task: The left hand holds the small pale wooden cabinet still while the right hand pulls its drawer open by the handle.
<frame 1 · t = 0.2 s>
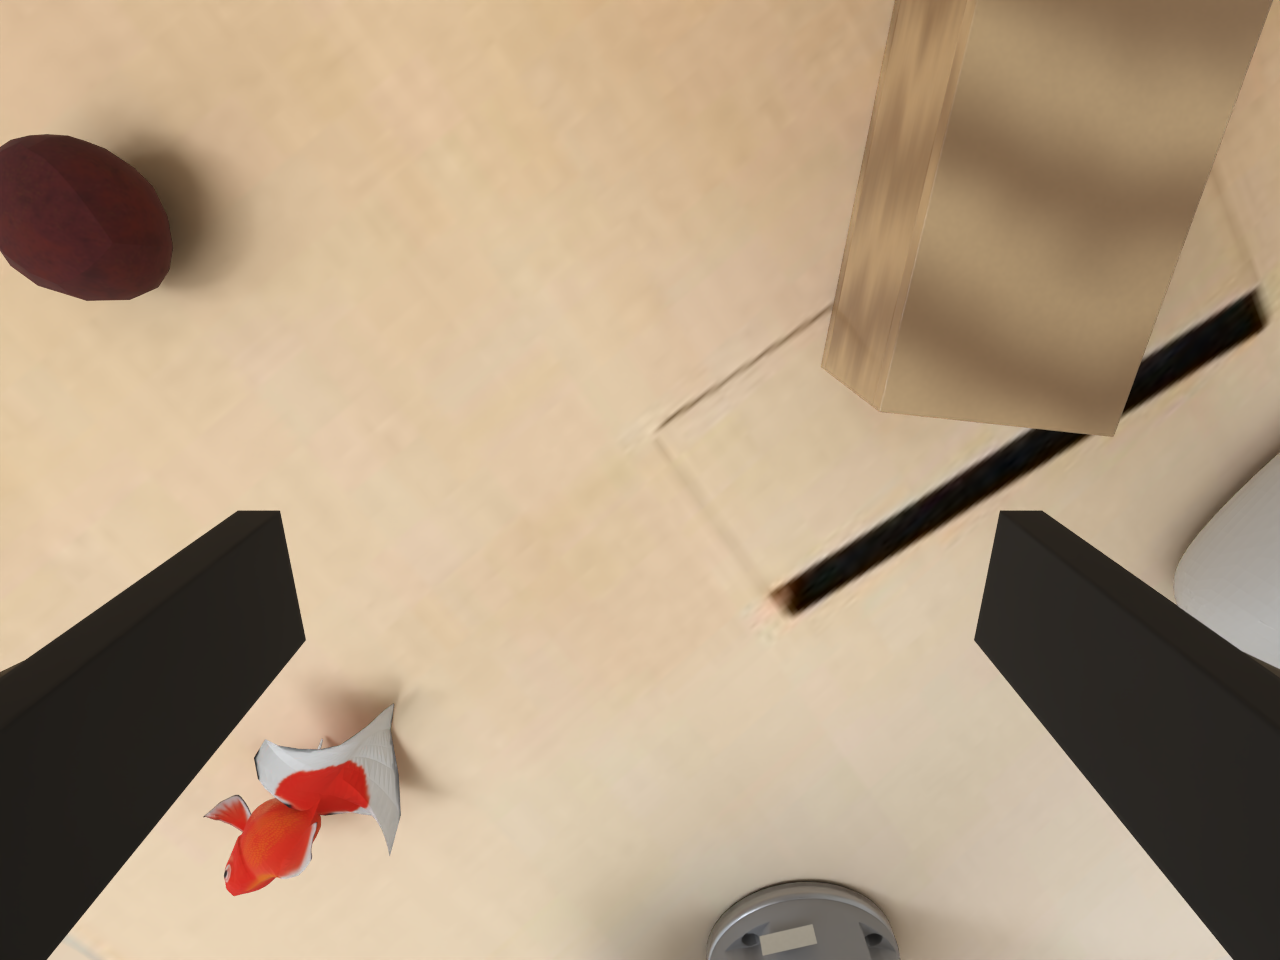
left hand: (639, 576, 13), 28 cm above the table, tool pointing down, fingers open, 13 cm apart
cabinet: (957, 189, 36), on the table
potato: (135, 224, 37), on the table
fish: (335, 752, 49), on the table
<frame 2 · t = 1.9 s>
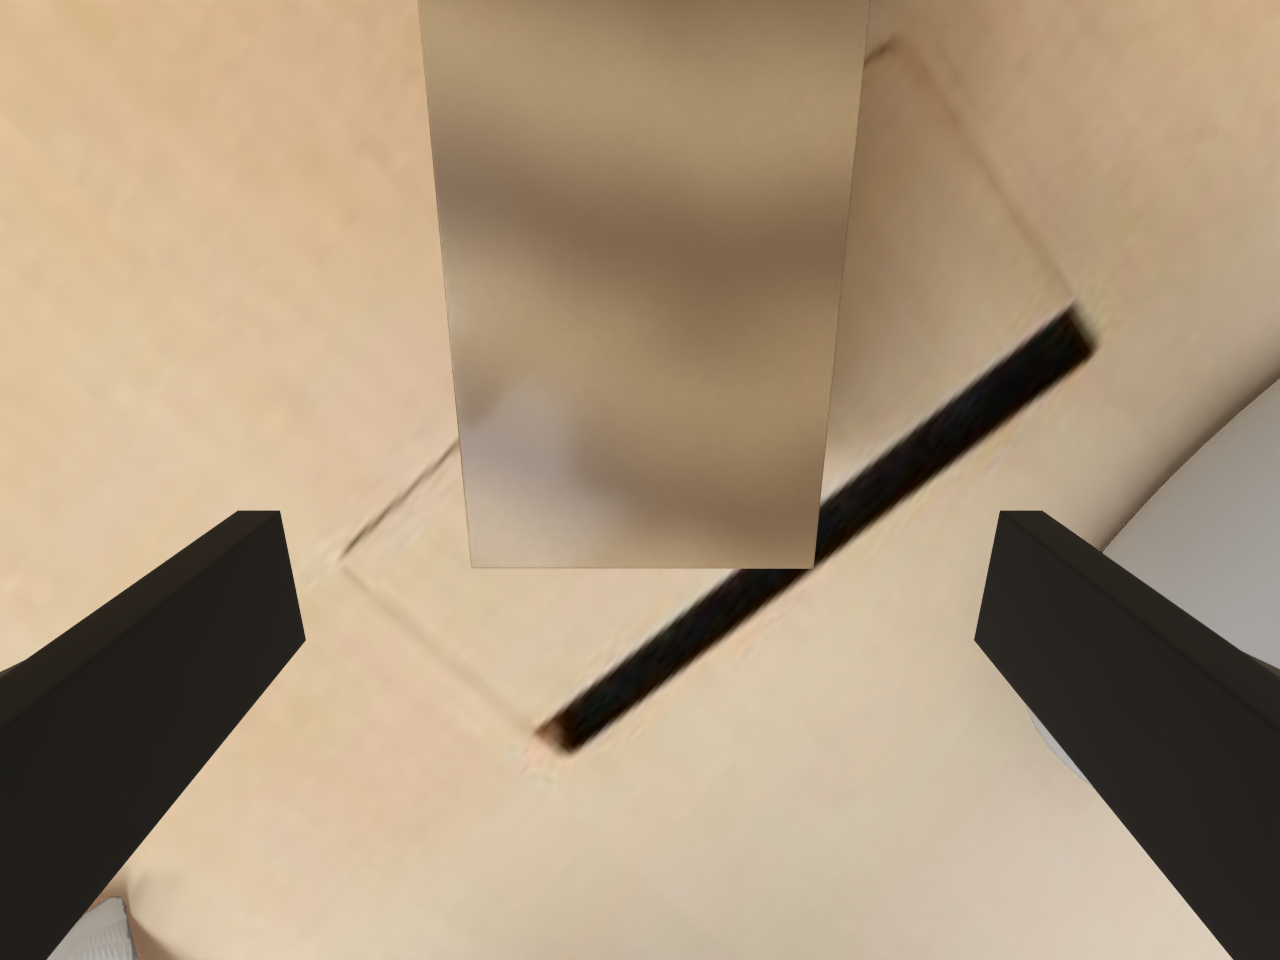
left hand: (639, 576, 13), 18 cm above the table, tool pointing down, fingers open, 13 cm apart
cabinet: (642, 223, 27), on the table
projector: (1234, 548, 32), on the table
fish: (74, 947, 41), on the table
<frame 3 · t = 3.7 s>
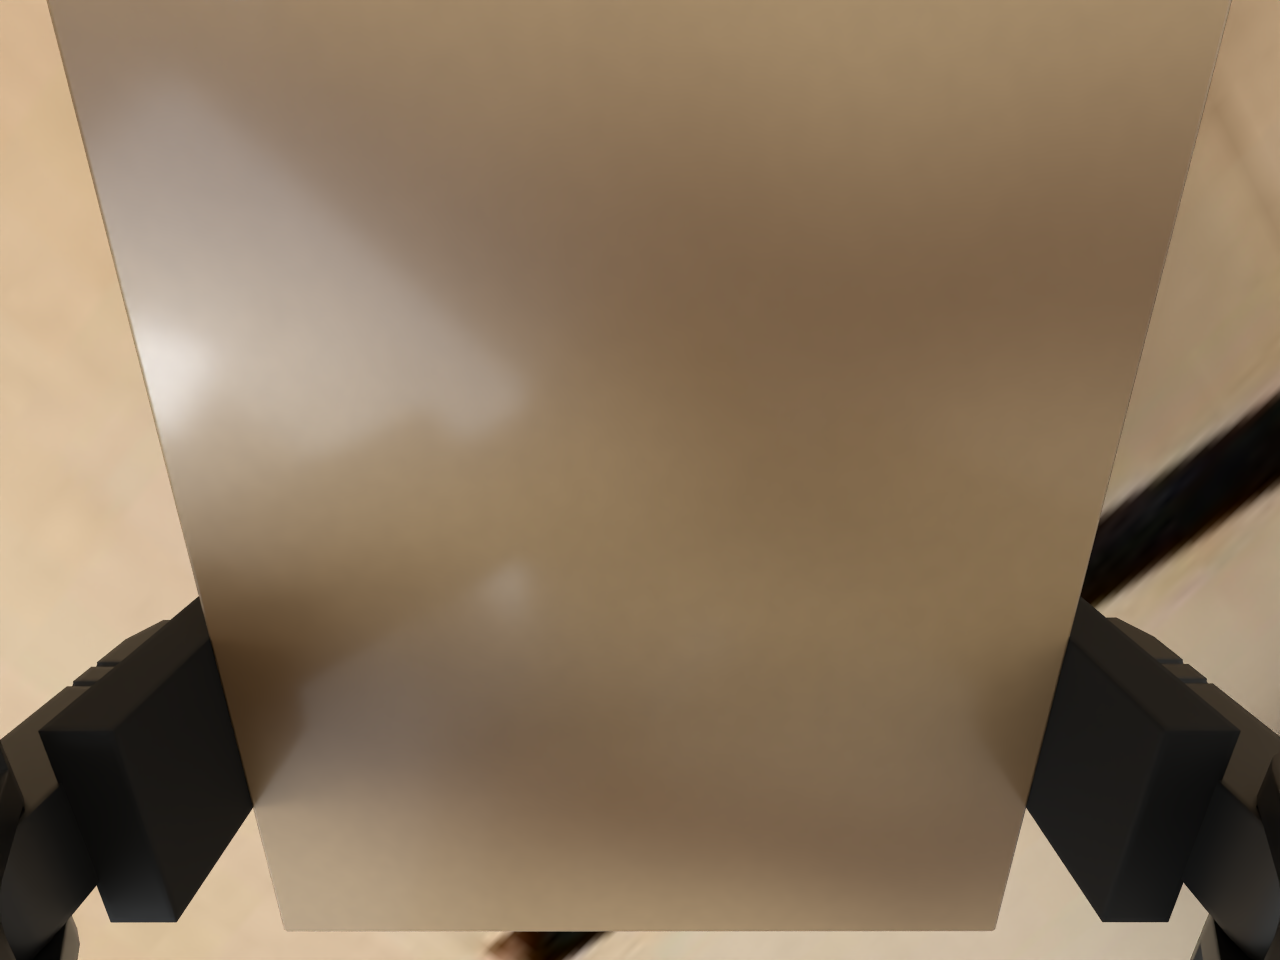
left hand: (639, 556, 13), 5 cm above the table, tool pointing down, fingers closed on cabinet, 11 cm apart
cabinet: (639, 216, 16), on the table, touching left hand
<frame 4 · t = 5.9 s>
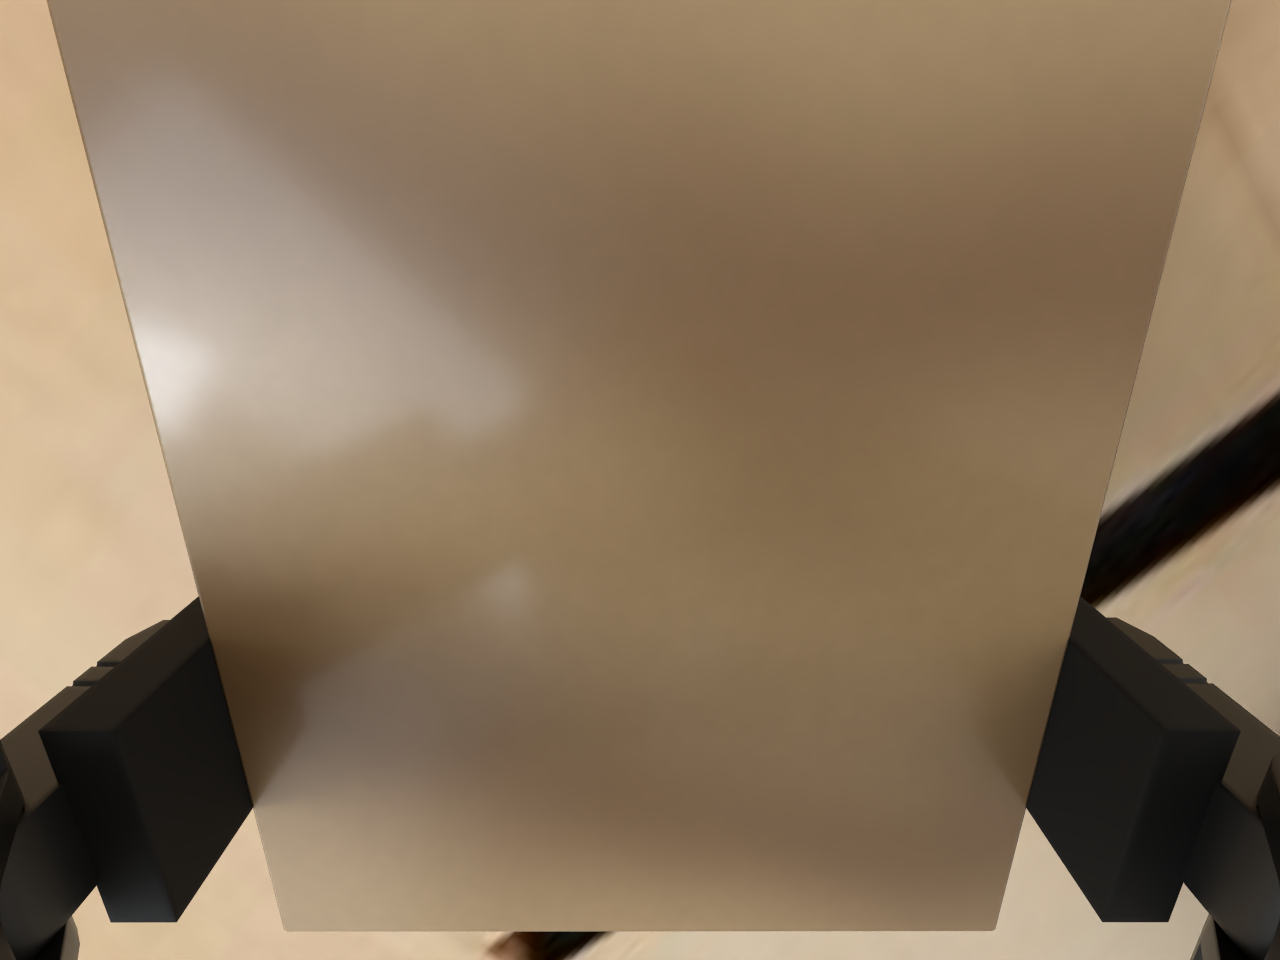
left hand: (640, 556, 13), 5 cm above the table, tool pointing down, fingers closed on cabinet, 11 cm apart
cabinet: (639, 216, 16), on the table, touching left hand
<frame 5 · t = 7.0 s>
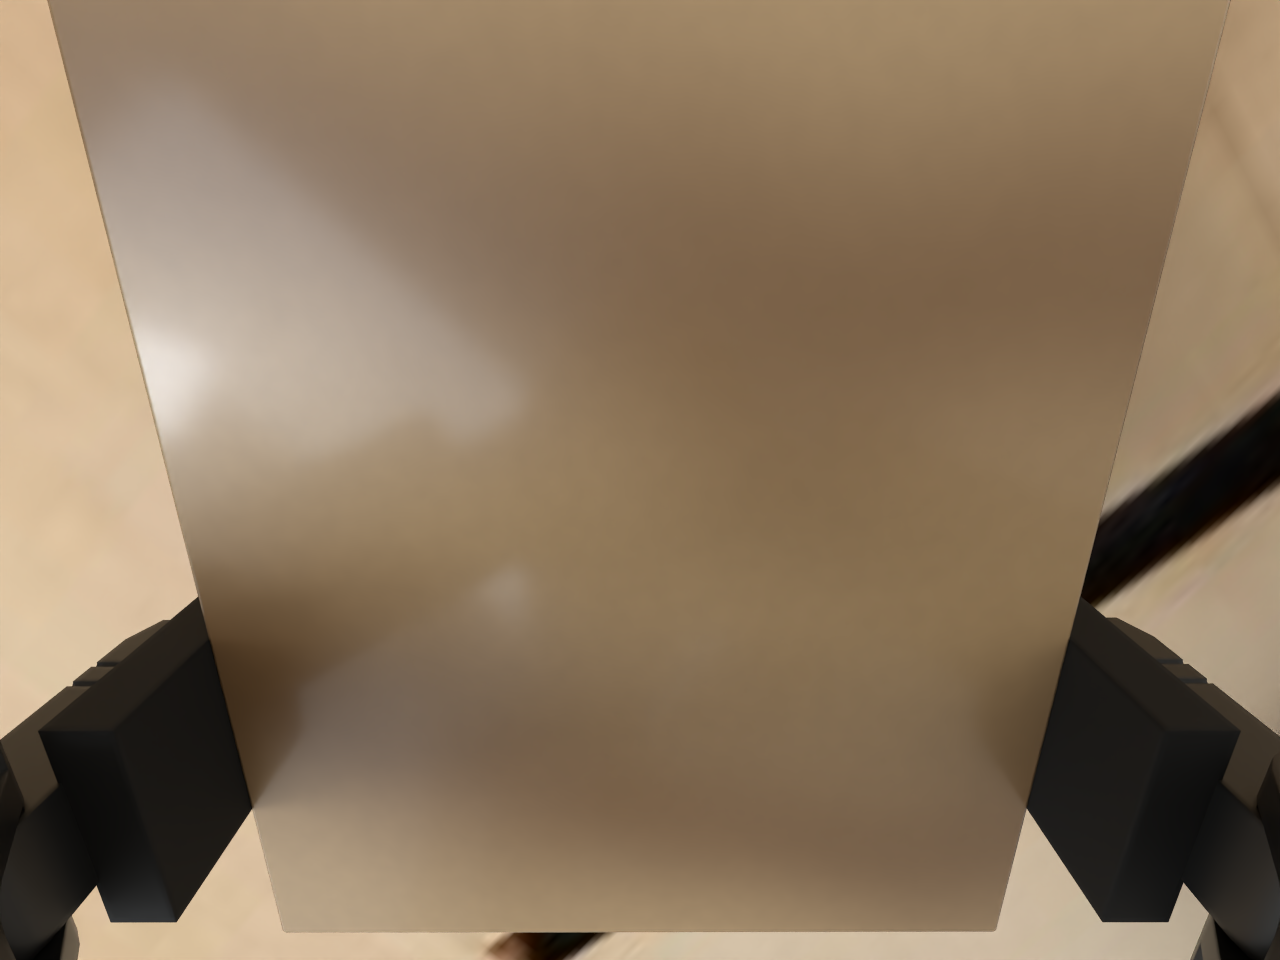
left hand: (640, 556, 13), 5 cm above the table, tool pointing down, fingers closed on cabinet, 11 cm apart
cabinet: (639, 217, 16), on the table, touching left hand
when the left hand's fingers open (5 cm above the table, at t = 8.9 s): cabinet stays where it is, on the table.
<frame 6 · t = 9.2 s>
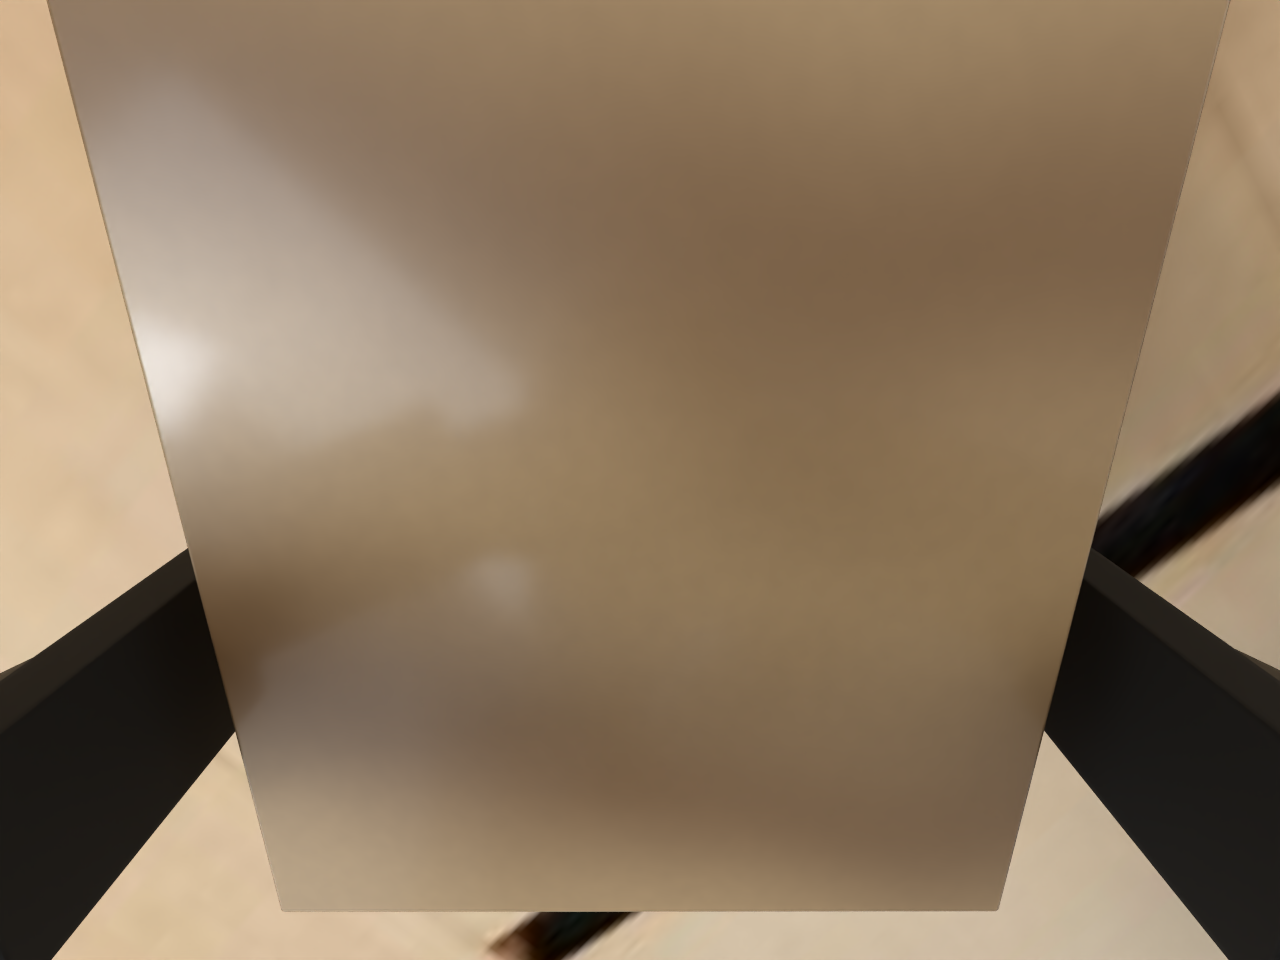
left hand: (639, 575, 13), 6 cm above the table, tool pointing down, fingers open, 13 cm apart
cabinet: (639, 199, 16), on the table
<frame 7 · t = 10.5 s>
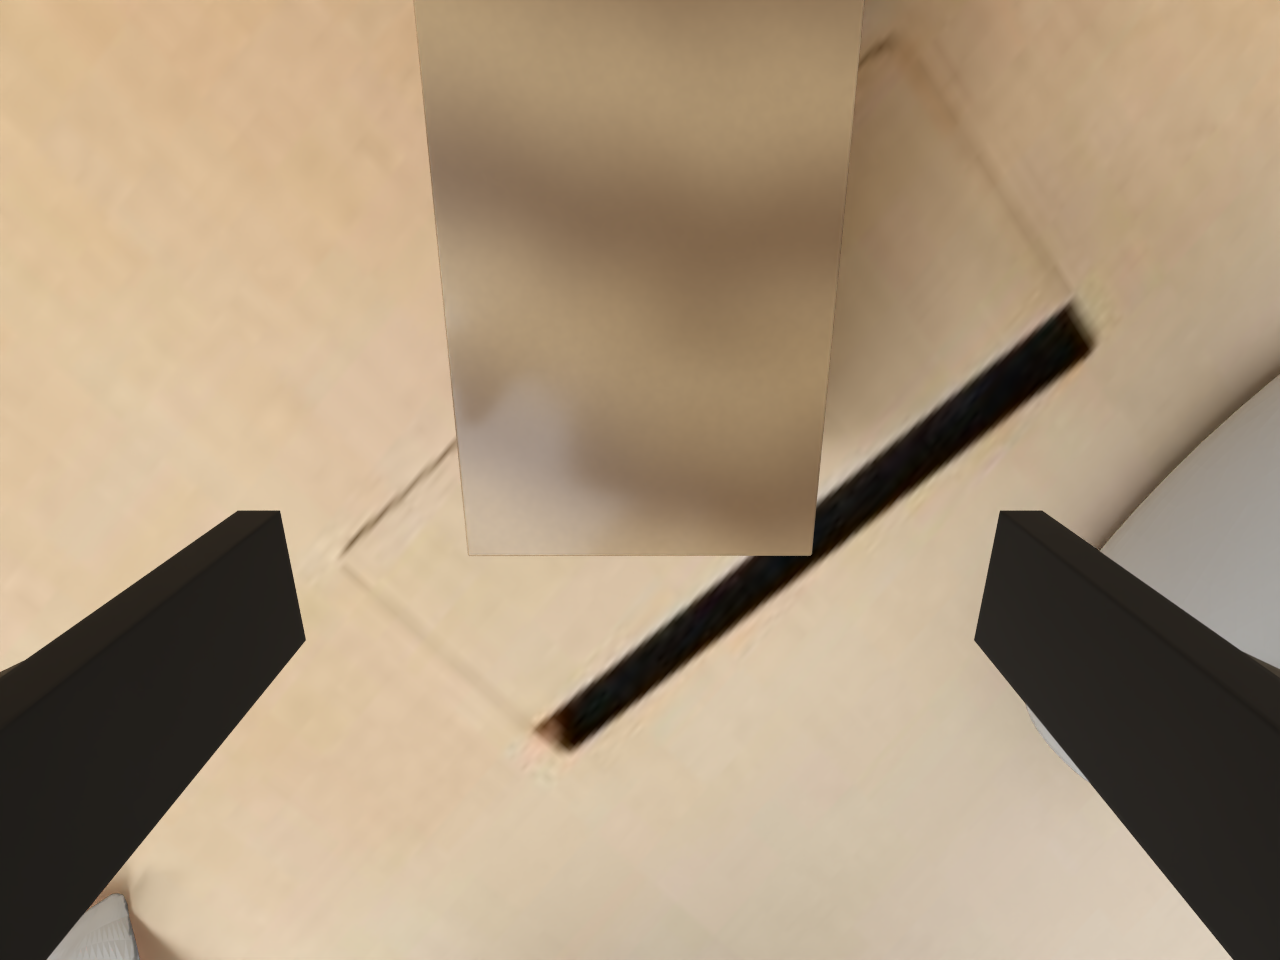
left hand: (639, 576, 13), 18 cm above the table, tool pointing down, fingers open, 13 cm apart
cabinet: (639, 211, 27), on the table
projector: (1232, 546, 32), on the table
fish: (76, 944, 41), on the table
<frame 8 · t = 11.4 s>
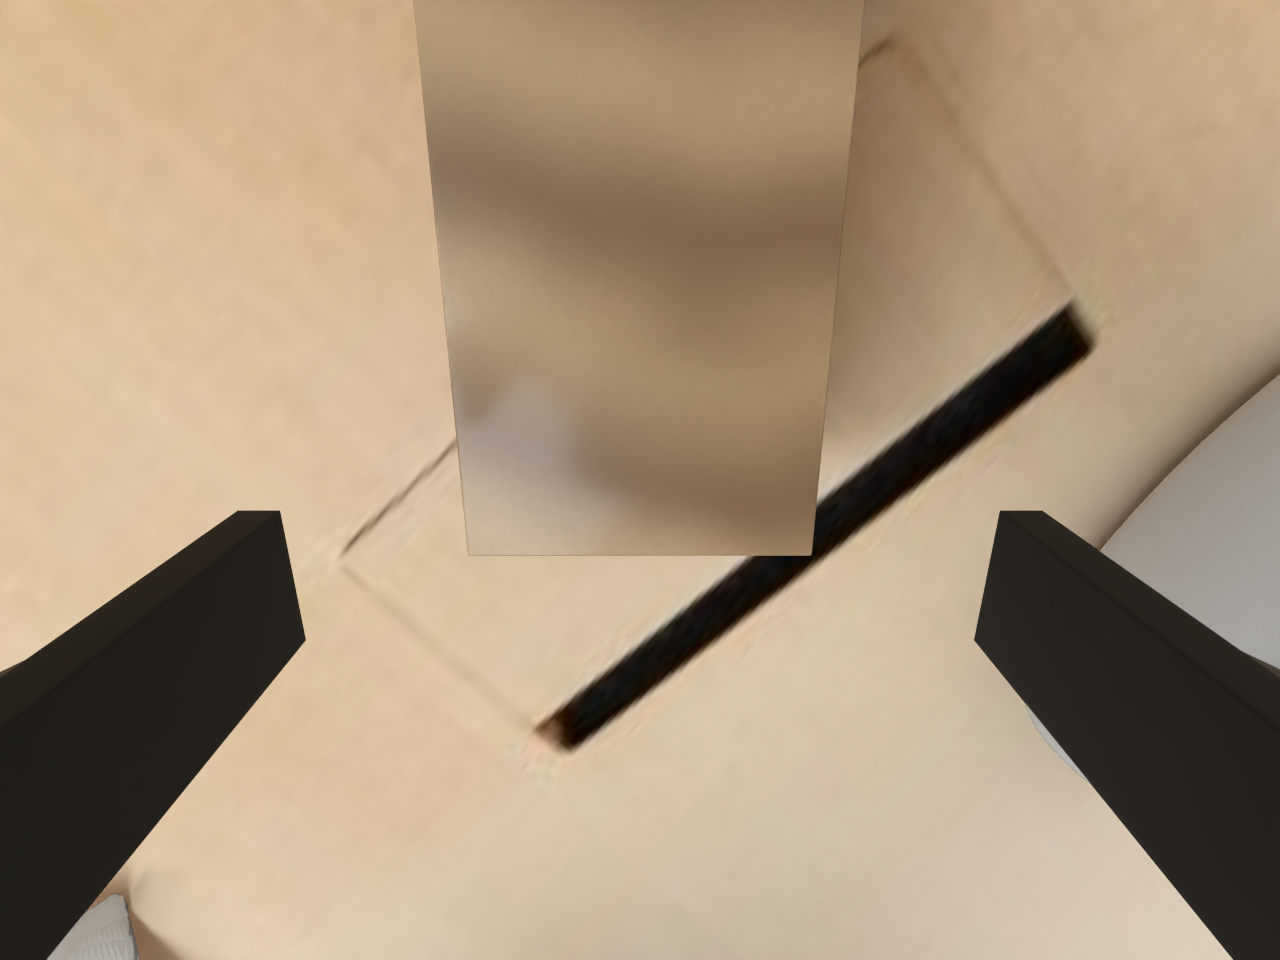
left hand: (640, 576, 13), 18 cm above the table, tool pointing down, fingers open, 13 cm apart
cabinet: (639, 211, 27), on the table
projector: (1232, 546, 32), on the table
fish: (76, 944, 41), on the table
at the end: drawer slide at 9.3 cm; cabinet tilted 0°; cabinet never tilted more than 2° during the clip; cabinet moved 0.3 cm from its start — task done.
